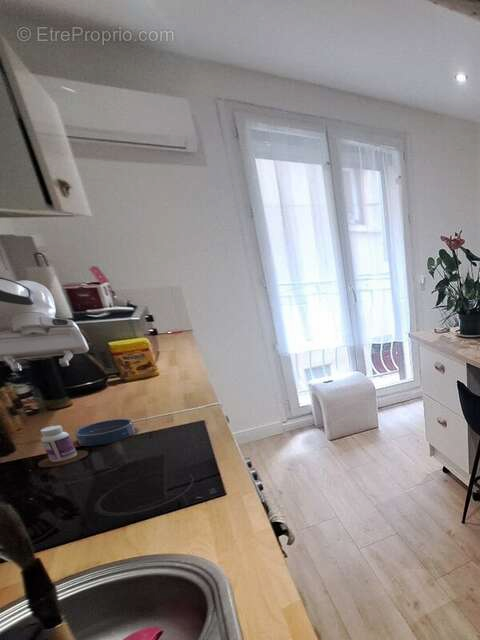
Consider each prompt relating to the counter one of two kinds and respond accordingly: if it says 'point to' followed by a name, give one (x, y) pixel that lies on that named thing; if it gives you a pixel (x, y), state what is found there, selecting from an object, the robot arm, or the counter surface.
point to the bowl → (105, 432)
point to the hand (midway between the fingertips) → (40, 367)
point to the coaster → (49, 463)
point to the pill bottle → (57, 444)
